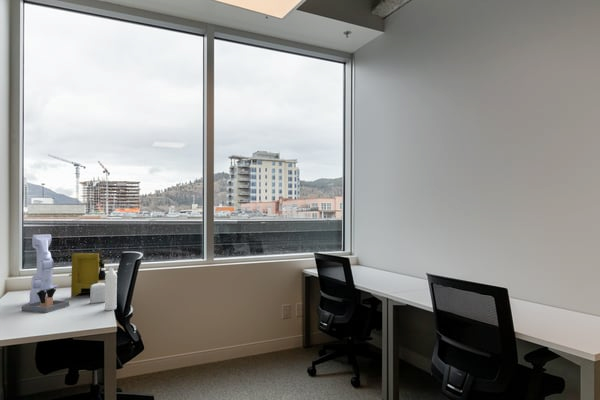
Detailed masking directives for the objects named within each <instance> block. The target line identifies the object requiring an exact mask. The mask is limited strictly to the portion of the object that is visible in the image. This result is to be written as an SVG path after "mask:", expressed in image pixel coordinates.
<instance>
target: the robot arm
mask: <svg viewBox="0 0 600 400" xmlns="http://www.w3.org/2000/svg"><path fill="white" fill-rule="evenodd" d="M31 241H32V242H31V243H32V244H31V246H32V248H33V249H35V252H36V274H34V275H33V276H32V277H31V281H30V282H31V285H30V287H31V290H30V291H29V301H28V302H27V304H31V303H34V302H38V301H41V303H45V297H52V298H54V295H55V292H56V291H57V289H58V288H59V284H53V272H54V271H53V270H54V268H55V262H54V259H53V258H52V254H51V251H49V247H50V246H51V243H52V235H51V234H50V233H47V234H33V235H32V240H31Z"/></svg>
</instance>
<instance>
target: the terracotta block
mask: <svg viewBox="0 0 600 400" xmlns="http://www.w3.org/2000/svg"><path fill="white" fill-rule="evenodd" d="M53 300H54V297H45V303H41V301H40V307H49V306H53Z"/></svg>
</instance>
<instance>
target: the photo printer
mask: <svg viewBox="0 0 600 400" xmlns="http://www.w3.org/2000/svg"><path fill="white" fill-rule="evenodd" d="M89 294H90V296H89V297H90V298H89V303H90V304H97V303H98V304H99V303H105V282H99V283H97V284H93V285H91V289H90V293H89Z"/></svg>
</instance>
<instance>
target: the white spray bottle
mask: <svg viewBox="0 0 600 400" xmlns="http://www.w3.org/2000/svg"><path fill="white" fill-rule="evenodd" d="M101 270H105V271H106V270H107V269H106V268H105V267H104V268H102V269H101ZM105 274H106V276H105V280H104V283H105V302H104V310H105V311H113V310H114V311H115V310H117V306H118V305H117V300H118V299H117V297H118V296H117V291H118V288H117V287H118V286H117V285H118V284H117V283H118V274H117V273H116V271H115V270H114V267H108V271H107V273H105Z"/></svg>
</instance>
